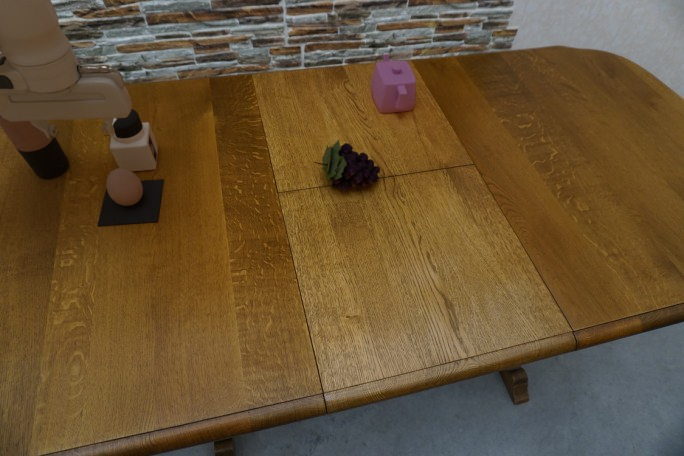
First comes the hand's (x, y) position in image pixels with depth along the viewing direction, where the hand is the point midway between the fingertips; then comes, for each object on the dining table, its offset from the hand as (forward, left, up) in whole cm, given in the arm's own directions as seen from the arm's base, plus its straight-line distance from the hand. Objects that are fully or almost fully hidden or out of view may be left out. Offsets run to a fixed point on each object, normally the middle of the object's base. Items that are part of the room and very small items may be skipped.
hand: (82, 134), depth 82 cm
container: (+2, +14, -20) cm, 25 cm away
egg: (+2, +1, -20) cm, 20 cm away
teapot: (+65, +32, -20) cm, 75 cm away
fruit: (+49, +3, -20) cm, 53 cm away
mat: (+2, +1, -20) cm, 20 cm away
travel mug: (-17, +13, -20) cm, 29 cm away
